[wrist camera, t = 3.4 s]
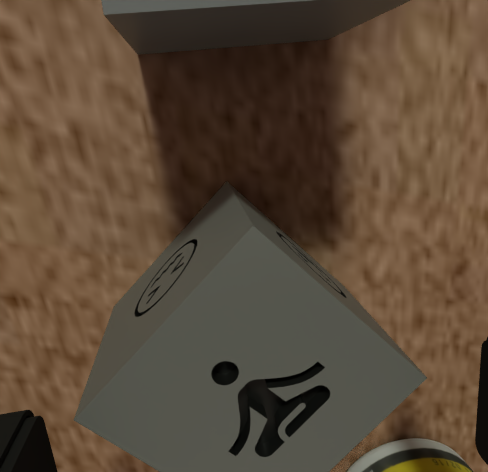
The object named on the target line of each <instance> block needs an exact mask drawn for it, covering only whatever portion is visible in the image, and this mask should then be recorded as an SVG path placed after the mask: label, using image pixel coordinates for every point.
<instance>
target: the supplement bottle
mask: <svg viewBox="0 0 488 472" xmlns="http://www.w3.org/2000/svg"><path fill="white" fill-rule="evenodd" d="M347 472H473V471H472V469H471V468H470V467H469V466H468V465H467V464H466V462H465V461H464V460H463V459H462V458H461V457H460V456H459V455H458V454H457V453H456V452H455V451H454V450H452V449H451V448H449V447H448V446H446V445H444V444H442V443H439V442H436V441H433V440H429V439H421V438H410V439H403V440H397V441H393V442H390V443H387V444H384V445H381V446H379V447H377V448H374V449H372V450H371V451H369V452H367V453H366V454H364V455H363V456H362V457H360V458H359V459H358V460H357V461H356V462H354V463H353V464H352V466H351V467H350V468H349V469H348V470H347Z"/></svg>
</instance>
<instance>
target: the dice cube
mask: <svg viewBox="0 0 488 472" xmlns="http://www.w3.org/2000/svg"><path fill="white" fill-rule="evenodd" d="M426 379H427V377H426V376H425V375H424V374H423V373H422V372H421V371H420V369H419V368H418V367H417V366H416V365H415V364H414V363H413V362H412V361H411V360H410V358H409V357H408V356H407V355H406V354H405V353H404V352H403V351H402V350H401V348H400V347H399V346H398V345H397V344H396V343H395V342H394V341H393V340H392V339H391V337H390V336H389V335H388V334H387V333H386V332H385V331H384V330H383V329H382V328H381V326H380V325H379V324H378V323H377V322H376V321H375V320H374V319H373V318H372V317H371V315H370V314H369V313H368V312H367V311H366V310H365V309H364V308H363V307H362V305H361V304H360V303H359V302H358V301H357V300H356V299H355V298H354V297H353V296H352V294H351V293H350V292H349V291H348V290H347V289H346V288H345V287H344V286H343V285H342V284H341V283H340V282H339V281H338V280H337V279H335V278H334V277H333V276H332V275H331V274H330V273H329V272H328V271H327V270H325V269H324V268H323V267H322V266H321V265H320V264H319V263H318V262H316V261H315V260H314V259H313V258H312V257H311V256H310V255H309V254H308V253H306V252H305V251H304V250H303V249H302V248H301V247H300V246H299V245H297V244H296V243H295V242H294V241H293V240H292V239H291V238H290V237H289V236H287V235H286V234H285V233H284V232H283V231H282V230H281V229H280V228H278V227H277V226H276V225H275V224H274V223H273V222H272V221H271V220H270V219H268V218H267V217H266V216H265V215H264V214H263V213H262V212H261V211H259V210H258V209H257V208H256V207H255V206H254V205H253V204H252V203H251V202H249V201H248V200H247V199H246V198H245V197H244V196H243V195H242V194H240V193H239V192H238V191H237V190H236V189H235V188H234V187H233V186H232V185H230V184H229V183H228V182H227V181H226V183H225V184H224V185H223V186H222V187H221V188H220V189H219V190H218V191H217V193H216V194H215V195H214V196H213V197H212V198H211V199H210V200H209V201H208V203H207V204H206V205H205V206H204V207H203V208H202V209H201V210H200V211H199V213H198V214H197V215H196V216H195V217H194V218H193V219H192V220H191V221H190V223H189V224H188V225H187V226H186V227H185V228H184V229H183V230H182V231H181V233H180V234H179V235H178V236H177V237H176V238H175V239H174V240H173V242H172V243H171V244H170V245H169V246H168V247H167V248H166V249H165V250H164V252H163V253H162V254H161V255H160V256H159V257H158V258H157V259H156V260H155V262H154V263H153V264H152V265H151V266H150V267H149V268H148V269H147V270H146V272H145V273H144V274H143V275H142V276H141V277H140V278H139V279H138V280H137V282H136V283H135V284H134V285H133V286H132V287H131V288H130V289H129V290H128V292H127V293H126V294H125V295H124V296H123V297H122V298H121V299H120V300H119V302H118V303H117V304H116V305H115V306H114V308H113V311H112V314H111V317H110V319H109V322H108V325H107V328H106V331H105V333H104V336H103V339H102V342H101V345H100V348H99V350H98V353H97V356H96V359H95V362H94V364H93V367H92V370H91V373H90V376H89V378H88V381H87V384H86V387H85V390H84V393H83V395H82V398H81V401H80V404H79V407H78V409H77V412H76V415H75V418H74V421H76V422H78V423H79V424H81V425H83V426H84V427H86V428H88V429H89V430H91V431H93V432H94V433H96V434H98V435H99V436H101V437H103V438H104V439H106V440H108V441H109V442H111V443H113V444H114V445H116V446H118V447H119V448H121V449H123V450H124V451H126V452H128V453H129V454H131V455H133V456H134V457H136V458H138V459H139V460H141V461H143V462H144V463H146V464H148V465H149V466H151V467H153V468H154V469H156V470H158V471H159V472H329V471H330V470H331V469H332V468H333V467H334V466H335V465H336V464H337V463H338V462H340V461H341V460H342V459H343V458H344V457H345V456H346V455H347V454H348V453H349V452H350V451H351V450H352V449H353V448H354V447H355V446H356V445H357V444H358V443H359V442H360V441H362V440H363V439H364V438H365V437H366V436H367V435H368V434H369V433H370V432H371V431H372V430H373V429H374V428H375V427H376V426H377V425H378V424H379V423H380V422H381V421H383V420H384V419H385V418H386V417H387V416H388V415H389V414H390V413H391V412H392V411H393V410H394V409H395V408H396V407H397V406H398V405H399V404H400V403H401V402H402V401H404V400H405V399H406V398H407V397H408V396H409V395H410V394H411V393H412V392H413V391H414V390H415V389H416V388H417V387H418V386H419V385H420V384H421V383H422V382H423V381H425V380H426Z"/></svg>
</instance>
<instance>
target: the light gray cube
mask: <svg viewBox="0 0 488 472" xmlns="http://www.w3.org/2000/svg"><path fill="white" fill-rule="evenodd" d="M408 1H410V0H102V6H103V12H104V15H105V17H106V18H107V19H108V20H109V21H110V22H111V24H112V25H113V26H114V27H115V28H116V29H117V31H118V32H119V33H120V34H121V35H122V37H123V38H124V39H125V40H126V41H127V42H128V44H129V45H130V46H131V47H132V48H133V49H134V51H135V52H136V53H137V54H138V55H139V54H151V53H164V52H177V51H190V50H202V49H215V48H228V47H240V46H253V45H266V44H279V43H291V42H304V41H317V40H328V39H330V38H332V37H335V36H337V35H339V34H341V33H343V32H345V31H347V30H349V29H351V28H353V27H356V26H358V25H360V24H362V23H364V22H366V21H368V20H370V19H372V18H374V17H377V16H379V15H381V14H383V13H385V12H387V11H389V10H391V9H393V8H395V7H398V6H400V5H402V4H404V3H406V2H408Z"/></svg>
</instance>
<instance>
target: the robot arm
mask: <svg viewBox="0 0 488 472" xmlns="http://www.w3.org/2000/svg"><path fill="white" fill-rule="evenodd" d="M475 441H476V447H477V450H478V452H479V454H480V456H481V458H482V459H483V460H484V461H485V462H486V464H487V465H488V337H487V340H486V341H484V342H483V344H482V349H481V364H480V379H479V393H478V408H477V423H476V438H475ZM0 472H57V468H56V464H55V461H54V457H53V453H52V449H51V445H50V442H49V438H48V434H47V430H46V427H45V423H44V420H43V418H42V417H41V416H35V417H34V414H33V413H32V412H31V411H30V410H24V411H18V412H12V413H6V414H0Z"/></svg>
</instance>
